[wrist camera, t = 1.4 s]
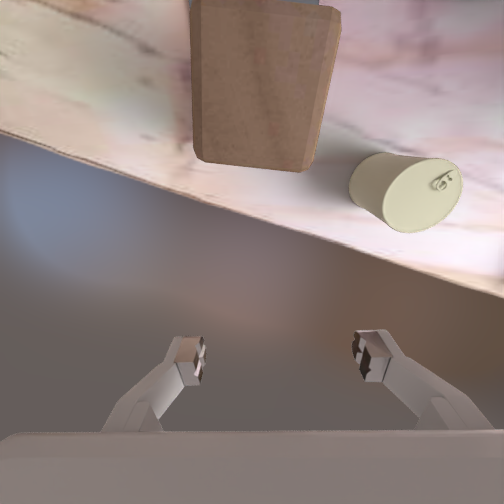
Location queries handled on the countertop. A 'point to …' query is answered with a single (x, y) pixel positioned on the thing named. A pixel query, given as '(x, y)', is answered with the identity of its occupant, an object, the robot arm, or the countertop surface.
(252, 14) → the block
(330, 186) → the countertop surface
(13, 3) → the countertop surface
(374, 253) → the countertop surface
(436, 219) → the can
